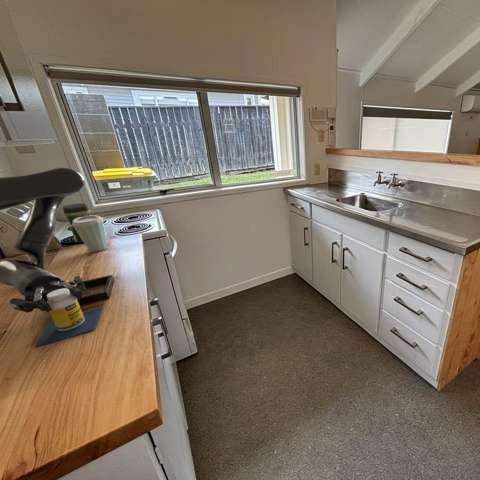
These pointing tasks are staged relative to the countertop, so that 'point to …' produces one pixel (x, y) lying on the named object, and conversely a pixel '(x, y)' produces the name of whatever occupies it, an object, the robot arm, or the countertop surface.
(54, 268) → the countertop surface
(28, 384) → the countertop surface
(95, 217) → the disposable coffee cup
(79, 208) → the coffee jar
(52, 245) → the rock
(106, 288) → the dark serving tray
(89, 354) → the countertop surface
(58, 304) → the supplement bottle
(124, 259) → the countertop surface
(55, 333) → the mat
